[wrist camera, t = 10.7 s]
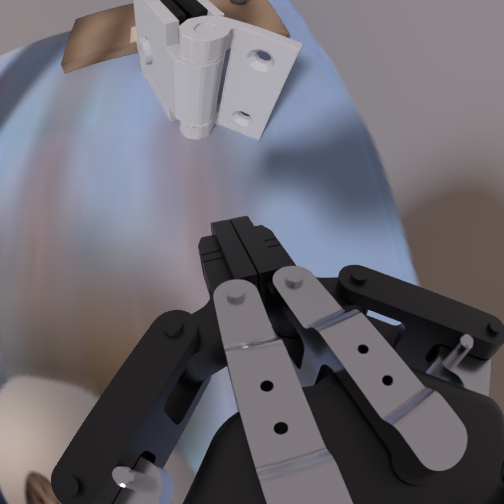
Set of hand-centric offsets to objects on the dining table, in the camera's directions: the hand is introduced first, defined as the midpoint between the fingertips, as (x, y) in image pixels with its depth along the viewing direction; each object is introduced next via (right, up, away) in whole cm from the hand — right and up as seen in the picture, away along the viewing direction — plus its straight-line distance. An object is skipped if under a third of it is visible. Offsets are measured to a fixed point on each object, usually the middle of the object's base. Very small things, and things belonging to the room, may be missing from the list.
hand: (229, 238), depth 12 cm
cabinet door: (-8, +25, +11) cm, 28 cm away
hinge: (-4, +13, +9) cm, 16 cm away
